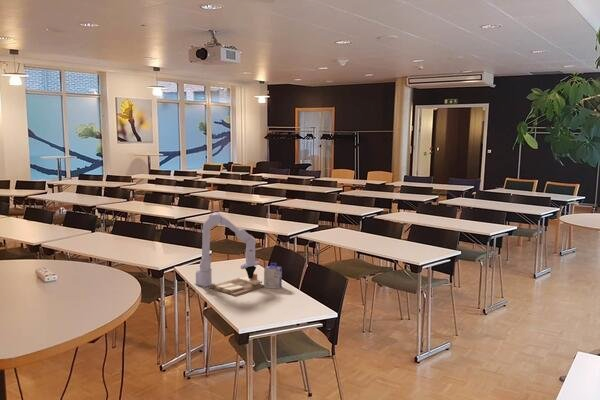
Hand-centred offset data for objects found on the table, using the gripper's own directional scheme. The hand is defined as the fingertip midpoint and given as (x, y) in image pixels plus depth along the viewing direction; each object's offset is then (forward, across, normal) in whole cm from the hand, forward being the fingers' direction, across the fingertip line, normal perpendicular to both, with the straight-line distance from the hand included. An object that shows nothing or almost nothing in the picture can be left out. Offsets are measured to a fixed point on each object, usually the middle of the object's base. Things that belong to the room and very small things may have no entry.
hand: (250, 278), depth 303 cm
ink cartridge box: (+3, +4, -15) cm, 16 cm away
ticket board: (+3, -11, 0) cm, 11 cm away
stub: (+2, 0, 0) cm, 2 cm away
